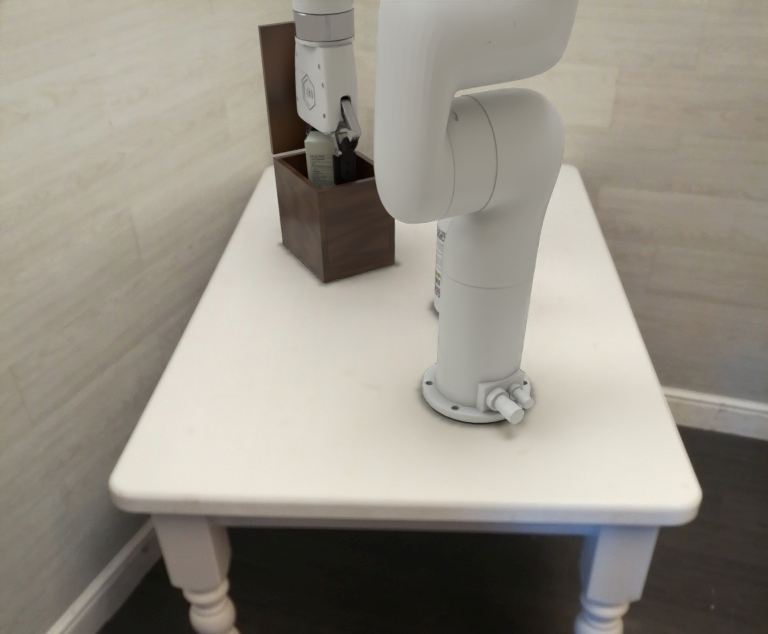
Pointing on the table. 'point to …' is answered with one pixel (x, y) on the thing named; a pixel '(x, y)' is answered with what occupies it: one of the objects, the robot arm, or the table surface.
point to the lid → (281, 87)
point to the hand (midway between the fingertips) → (332, 173)
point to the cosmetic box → (320, 158)
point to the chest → (333, 220)
